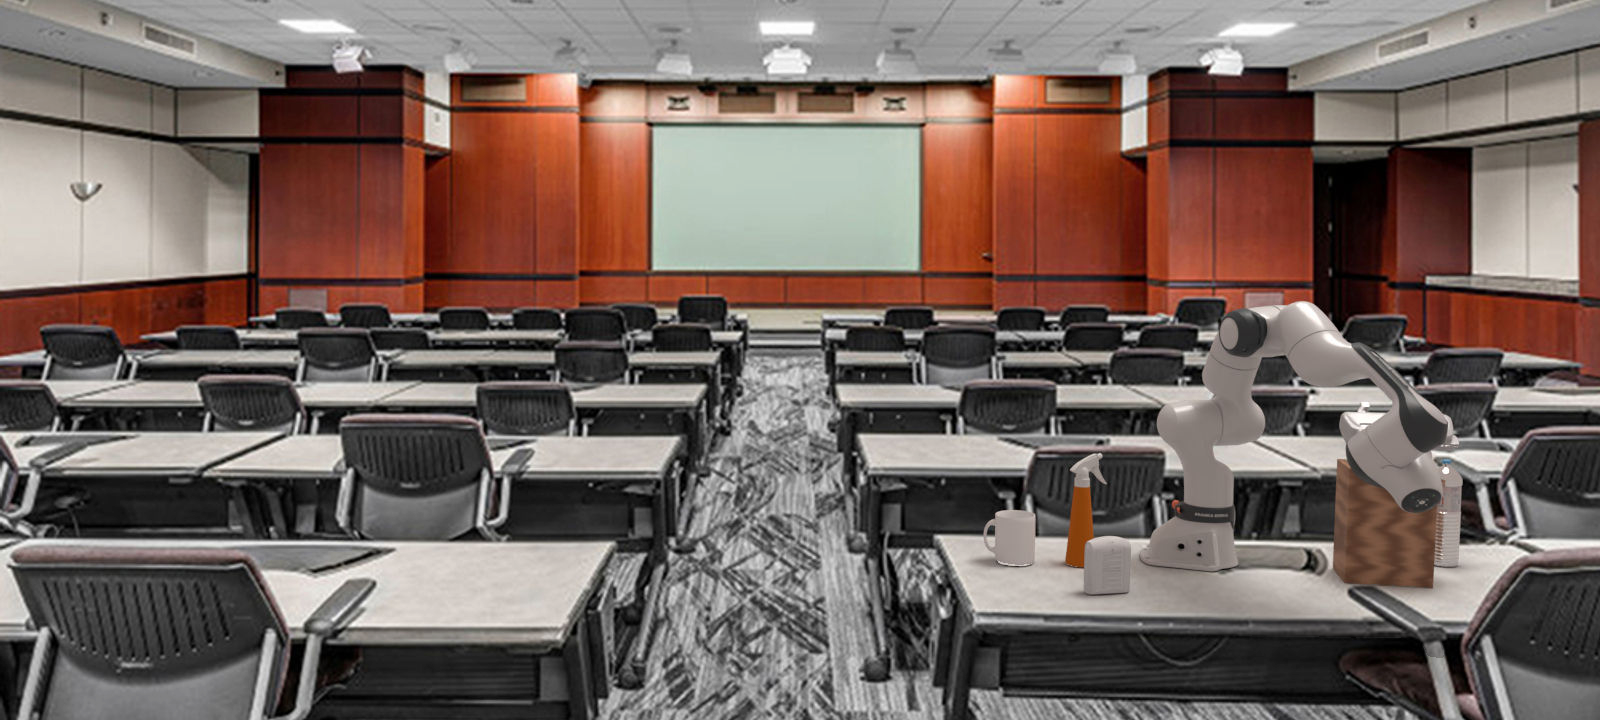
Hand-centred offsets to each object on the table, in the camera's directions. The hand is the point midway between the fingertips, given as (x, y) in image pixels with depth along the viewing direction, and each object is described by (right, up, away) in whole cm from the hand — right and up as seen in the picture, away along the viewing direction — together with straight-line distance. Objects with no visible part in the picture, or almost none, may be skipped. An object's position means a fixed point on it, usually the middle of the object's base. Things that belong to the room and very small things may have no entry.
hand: (1388, 405), depth 234 cm
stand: (+11, -40, +25) cm, 49 cm away
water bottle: (+32, -39, +37) cm, 62 cm away
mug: (-71, -39, +39) cm, 90 cm away
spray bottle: (-52, -40, +38) cm, 76 cm away
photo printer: (-54, -42, +15) cm, 70 cm away
